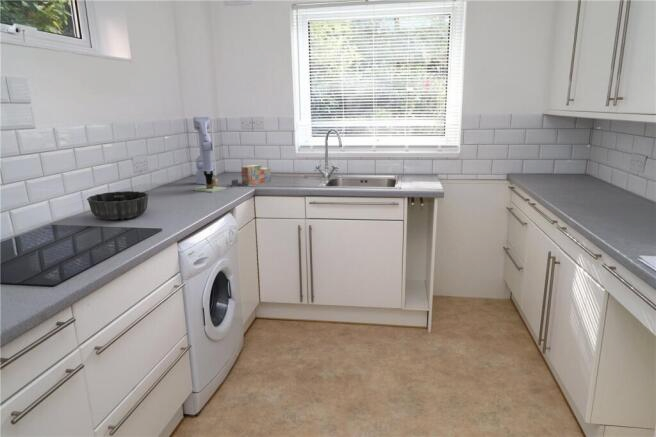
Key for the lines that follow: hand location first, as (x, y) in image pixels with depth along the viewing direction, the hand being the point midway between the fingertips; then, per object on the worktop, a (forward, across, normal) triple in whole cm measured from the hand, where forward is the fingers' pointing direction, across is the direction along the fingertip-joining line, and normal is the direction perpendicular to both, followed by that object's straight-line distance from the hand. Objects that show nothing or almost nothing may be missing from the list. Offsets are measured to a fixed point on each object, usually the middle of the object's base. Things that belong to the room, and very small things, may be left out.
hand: (209, 183), depth 271 cm
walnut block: (+3, 0, 0) cm, 3 cm away
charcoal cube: (+4, +10, -16) cm, 20 cm away
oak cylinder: (+4, +10, -3) cm, 11 cm away
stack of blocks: (+4, +17, -32) cm, 36 cm away
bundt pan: (+4, -57, +42) cm, 71 cm away
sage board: (+4, 0, 0) cm, 4 cm away
